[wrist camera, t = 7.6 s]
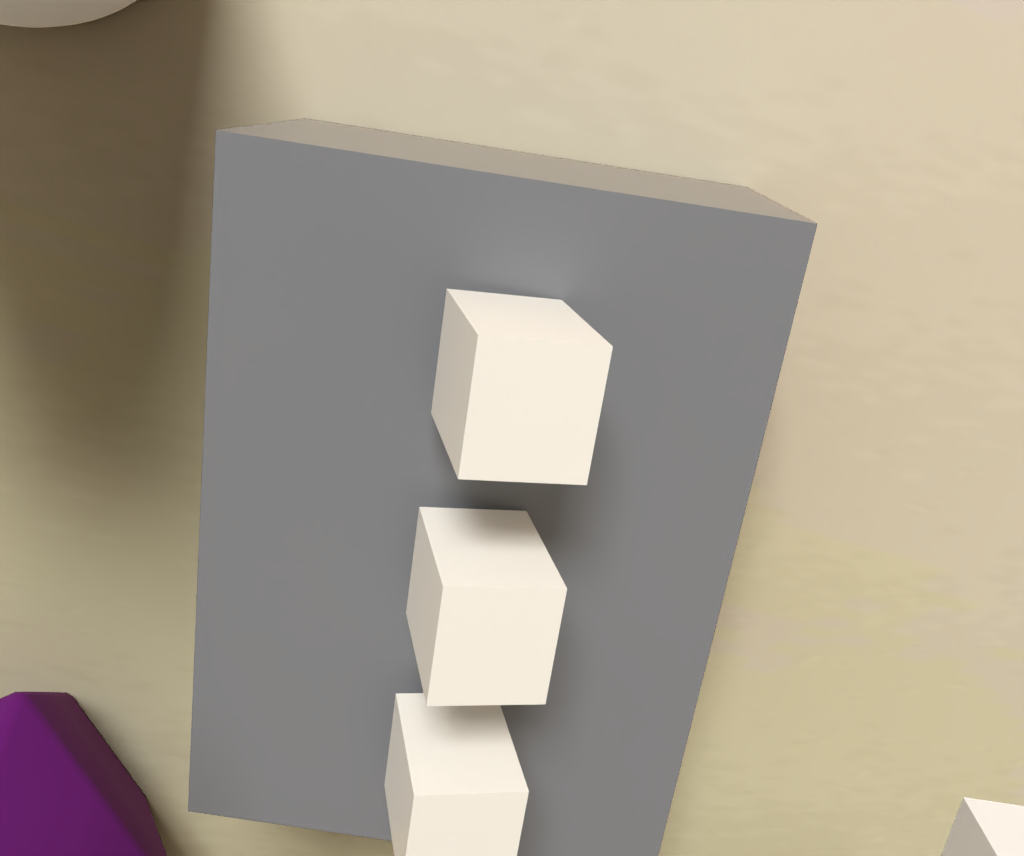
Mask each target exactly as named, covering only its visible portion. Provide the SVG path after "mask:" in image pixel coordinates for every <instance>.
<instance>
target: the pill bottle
mask: <svg viewBox="0 0 1024 856" xmlns="http://www.w3.org/2000/svg"><path fill="white" fill-rule="evenodd" d="M135 1H137V0H0V24H1V25H9V26H17V27H30V28H44V27H56V26H68V25H75V24H80V23H85V22H89V21H93V20H96V19H100V18H102V17H105V16H108V15H110V14H113V13H115V12H117V11H119V10H121V9H123V8H125V7H127V6H129V5H130V4H132V3H134V2H135Z"/></svg>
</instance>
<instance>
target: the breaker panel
mask: <svg viewBox="0 0 1024 856" xmlns="http://www.w3.org/2000/svg"><path fill="white" fill-rule="evenodd" d="M816 227H817V223H815V222H813V221H812V220H810V219H808V218H806V217H804V216H802V215H800V214H798V213H796V212H794V211H792V210H790V209H788V208H787V207H785V206H783V205H781V204H779V203H777V202H775V201H773V200H771V199H769V198H767V197H765V196H763V195H761V194H760V193H758V192H756V191H754V190H752V189H750V188H748V187H742V186H736V185H729V184H723V183H716V182H710V181H703V180H697V179H691V178H684V177H678V176H671V175H665V174H658V173H652V172H646V171H639V170H633V169H626V168H620V167H614V166H607V165H601V164H594V163H588V162H581V161H575V160H569V159H562V158H556V157H549V156H543V155H537V154H530V153H524V152H517V151H511V150H504V149H498V148H492V147H485V146H479V145H472V144H466V143H460V142H453V141H447V140H440V139H434V138H427V137H421V136H415V135H408V134H402V133H395V132H389V131H383V130H376V129H370V128H363V127H357V126H350V125H344V124H338V123H331V122H325V121H318V120H312V119H305V118H304V119H296V120H288V121H281V122H273V123H266V124H258V125H250V126H243V127H235V128H228V129H220V130H216V140H215V164H214V189H213V213H212V237H211V262H210V286H209V311H208V335H207V360H206V384H205V409H204V433H203V458H202V482H201V507H200V531H199V556H198V580H197V604H196V629H195V653H194V678H193V702H192V727H191V751H190V776H189V800H188V811H191V812H197V813H204V814H211V815H218V816H225V817H232V818H238V819H245V820H252V821H259V822H266V823H272V824H279V825H286V826H293V827H300V828H306V829H313V830H320V831H327V832H334V833H341V834H347V835H354V836H361V837H368V838H375V839H381V840H388V841H392V836H391V829H390V822H389V815H388V808H387V801H386V793H385V786H384V784H385V776H386V768H387V760H388V752H389V744H390V736H391V728H392V720H393V712H394V704H395V696H396V693H423V688H422V684H421V679H420V675H419V670H418V665H417V661H416V656H415V652H414V647H413V643H412V638H411V634H410V629H409V625H408V620H407V615H406V608H407V600H408V592H409V584H410V577H411V569H412V561H413V553H414V545H415V537H416V529H417V521H418V513H419V507H439V508H465V509H491V510H517V511H527V513H528V515H529V517H530V519H531V521H532V523H533V524H534V526H535V528H536V530H537V532H538V534H539V536H540V538H541V540H542V542H543V543H544V545H545V547H546V549H547V551H548V553H549V555H550V557H551V559H552V561H553V562H554V564H555V566H556V568H557V570H558V572H559V574H560V576H561V578H562V580H563V582H564V583H565V585H566V587H567V593H566V598H565V603H564V609H563V614H562V619H561V624H560V630H559V635H558V640H557V646H556V651H555V656H554V661H553V667H552V672H551V677H550V683H549V688H548V693H547V699H546V704H540V705H500V706H501V709H502V712H503V715H504V718H505V721H506V724H507V727H508V730H509V733H510V736H511V739H512V742H513V745H514V748H515V751H516V754H517V757H518V760H519V763H520V766H521V769H522V772H523V775H524V778H525V781H526V784H527V787H528V790H529V794H528V799H527V804H526V810H525V815H524V820H523V826H522V831H521V836H520V841H519V847H518V852H517V856H658V854H659V850H660V846H661V842H662V838H663V834H664V830H665V826H666V822H667V818H668V814H669V810H670V806H671V802H672V798H673V794H674V790H675V787H676V783H677V779H678V775H679V771H680V767H681V763H682V759H683V755H684V751H685V747H686V743H687V739H688V735H689V731H690V727H691V723H692V719H693V715H694V711H695V707H696V703H697V699H698V695H699V691H700V687H701V683H702V679H703V675H704V671H705V668H706V664H707V660H708V656H709V652H710V648H711V644H712V640H713V636H714V632H715V628H716V624H717V620H718V616H719V612H720V608H721V604H722V600H723V596H724V592H725V588H726V584H727V580H728V576H729V572H730V568H731V564H732V560H733V556H734V552H735V549H736V545H737V541H738V537H739V533H740V529H741V525H742V521H743V517H744V513H745V509H746V505H747V501H748V497H749V493H750V489H751V485H752V481H753V477H754V473H755V469H756V465H757V461H758V457H759V453H760V449H761V445H762V441H763V437H764V433H765V430H766V426H767V422H768V418H769V414H770V410H771V406H772V402H773V398H774V394H775V390H776V386H777V382H778V378H779V374H780V370H781V366H782V362H783V358H784V354H785V350H786V346H787V342H788V338H789V334H790V330H791V326H792V322H793V318H794V314H795V311H796V307H797V303H798V299H799V295H800V291H801V287H802V283H803V279H804V275H805V271H806V267H807V263H808V259H809V255H810V251H811V247H812V243H813V239H814V235H815V231H816ZM447 289H456V290H466V291H477V292H487V293H497V294H508V295H518V296H528V297H538V298H549V299H559V300H562V301H564V302H565V303H566V304H567V305H568V306H569V307H570V308H571V309H572V310H573V311H575V312H576V313H577V314H578V315H579V316H580V317H581V318H582V319H583V320H584V321H585V322H587V323H588V324H589V325H590V326H591V327H592V328H593V329H594V330H595V331H596V332H598V333H599V334H600V335H601V336H602V337H603V338H604V339H605V340H606V341H607V342H608V343H610V344H611V345H612V346H613V349H612V354H611V360H610V365H609V370H608V376H607V381H606V386H605V391H604V397H603V402H602V407H601V413H600V418H599V423H598V428H597V434H596V439H595V444H594V450H593V455H592V460H591V466H590V471H589V476H588V481H587V485H571V484H549V483H528V482H506V481H484V480H463V479H458V478H457V475H456V473H455V471H454V468H453V466H452V463H451V461H450V458H449V456H448V453H447V451H446V448H445V446H444V444H443V441H442V439H441V436H440V434H439V431H438V429H437V426H436V424H435V421H434V419H433V417H432V414H431V409H432V401H433V393H434V385H435V377H436V369H437V362H438V354H439V346H440V338H441V330H442V322H443V314H444V306H445V298H446V290H447Z"/></svg>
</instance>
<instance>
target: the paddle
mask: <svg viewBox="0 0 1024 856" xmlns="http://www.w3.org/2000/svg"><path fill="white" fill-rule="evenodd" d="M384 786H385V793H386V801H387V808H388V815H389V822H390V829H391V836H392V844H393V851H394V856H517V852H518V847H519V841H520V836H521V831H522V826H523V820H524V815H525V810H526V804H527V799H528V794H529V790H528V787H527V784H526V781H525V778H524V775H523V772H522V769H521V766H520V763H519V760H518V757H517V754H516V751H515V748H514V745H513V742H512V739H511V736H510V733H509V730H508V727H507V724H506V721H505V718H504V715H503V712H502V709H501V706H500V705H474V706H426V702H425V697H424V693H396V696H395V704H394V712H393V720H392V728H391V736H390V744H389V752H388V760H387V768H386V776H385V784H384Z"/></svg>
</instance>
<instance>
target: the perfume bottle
mask: <svg viewBox="0 0 1024 856" xmlns="http://www.w3.org/2000/svg"><path fill="white" fill-rule="evenodd" d="M0 856H167V855H166V852H165V849H164V847H163V844H162V841H161V838H160V836H159V833H158V830H157V827H156V825H155V822H154V819H153V816H152V814H151V811H150V808H149V805H148V803H147V800H146V797H145V795H144V794H143V793H142V791H141V790H140V788H139V787H138V786H137V784H136V783H135V782H134V780H133V779H132V778H131V776H130V775H129V773H128V772H127V771H126V769H125V768H124V767H123V765H122V764H121V762H120V761H119V760H118V758H117V757H116V756H115V754H114V753H113V752H112V750H111V749H110V747H109V746H108V745H107V743H106V742H105V741H104V739H103V738H102V736H101V735H100V734H99V732H98V731H97V730H96V728H95V727H94V726H93V724H92V723H91V721H90V720H89V719H88V717H87V716H86V715H85V713H84V712H83V711H82V709H81V708H80V706H79V705H78V704H77V702H76V701H75V700H74V698H73V697H72V696H71V695H69V694H68V693H60V692H14V693H12V694H10V695H8V696H5V697H3V698H1V699H0Z"/></svg>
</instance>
